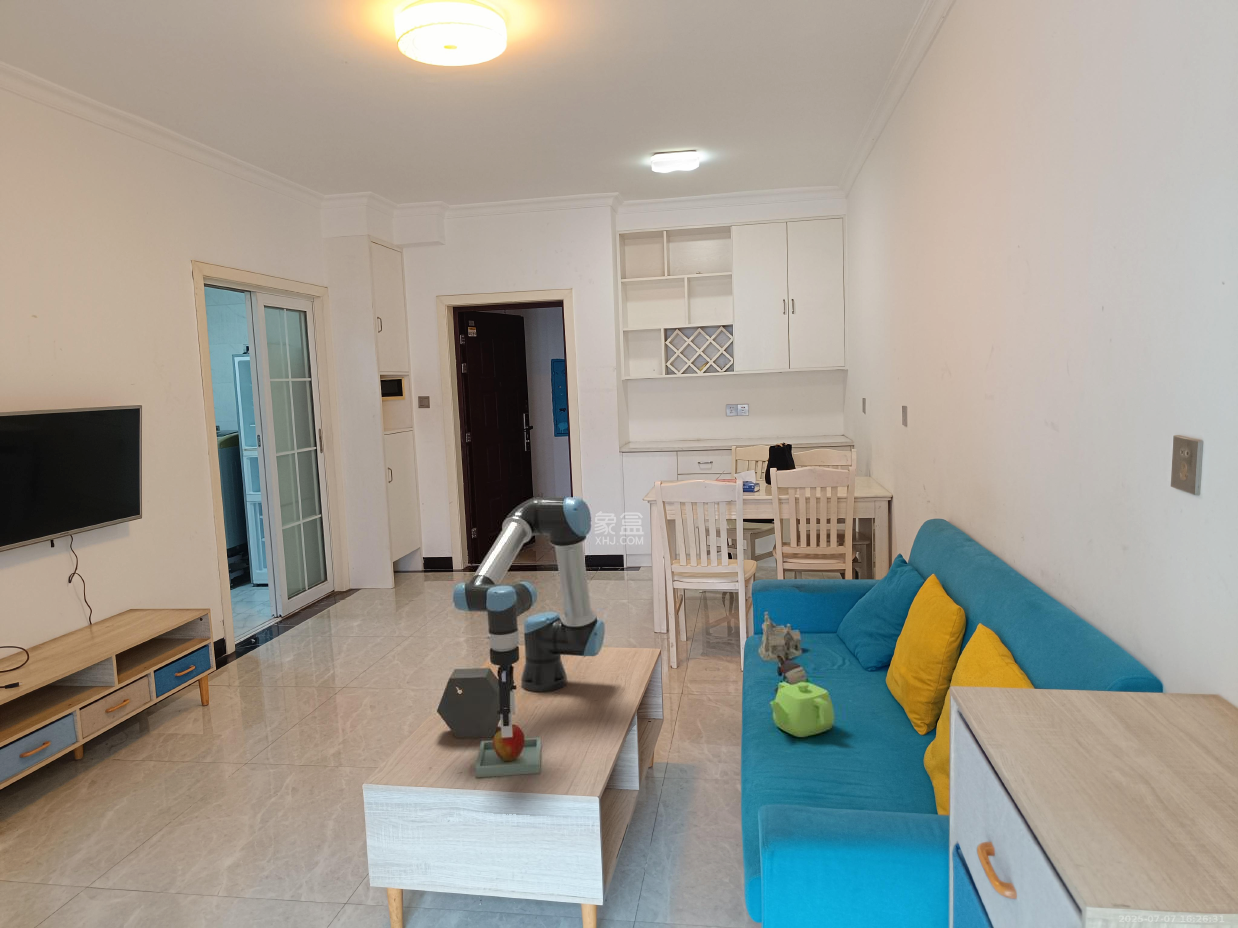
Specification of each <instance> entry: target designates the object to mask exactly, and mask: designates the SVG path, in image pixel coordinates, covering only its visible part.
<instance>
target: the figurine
mask: <svg viewBox="0 0 1238 928" xmlns="http://www.w3.org/2000/svg"><path fill="white" fill-rule="evenodd" d="M777 658H778V660H779V661H778V662H779V663H778V664H777V668H776V671H777V676H778V677H782V675H783V678H782V680H780V679H779V681H780V682H779V683H782V682H783V681H785V680H786V681H785V682H786V683H788V684H790V685H794V684H797V683H800V682H805V683H811V684H813V685H814V683H813V680H812V678H811V677H807V674H806V672H805V671H806V670H804V668H803V667H802V666H801V665H800V664H799V663H797V662H796V661H792V660H790V659H789V656H788V653H787V652H786V653H785V655H784V658H785V661H784V660H783V658H782V657H781V656H779V655H777ZM774 692H775V694H776V695H777V692H778V686H776V687H775V689H774Z"/></svg>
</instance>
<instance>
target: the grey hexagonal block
mask: <svg viewBox="0 0 1238 928" xmlns="http://www.w3.org/2000/svg"><path fill="white" fill-rule="evenodd" d="M459 691H461V693H459ZM503 709H505V708H503ZM497 711H500V702H499V685H498V676H496V675H495V673H494V672H493V670H492V669H491V668H490V667H479V668H475V667H474V668H454V670H453V672H452V673H451V675H450V676H449V678H448V681H447V683H446V686H445V689H444V691H443V694H442V696H441V699H440V702H439V704H438V707H437V710H436V712H437V714H438V715H439V716H440V718H441V719H442V720H443V722H444V723H445V724H446V726H447V727H448V728H449V729H450V731H451V733H453V735H454V736H455V738H456V739H477V738H478V739H481V738H494V735H495V734H496V733H497V732H496V731H497V729H498V727H499V724H500V722H501V718H500V714H497Z"/></svg>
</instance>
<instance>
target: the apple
mask: <svg viewBox="0 0 1238 928" xmlns="http://www.w3.org/2000/svg"><path fill="white" fill-rule="evenodd" d="M512 734H513V737H506V738H502V735H501V729H499V730H498V731H497V732H495V734H494V736H493V737H492V738H493V739H492V741H493V746H494V750H495V752H496V754H497V755H498V757H499V758H501V759H502V760H504V761H513V760H515V759H516V758H518V757H519V755H520V754H521V752H522V750H523V747H524V742H525V734H524V731H523V730H522V728H521V727H520V726H518V725H516V724H512Z"/></svg>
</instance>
